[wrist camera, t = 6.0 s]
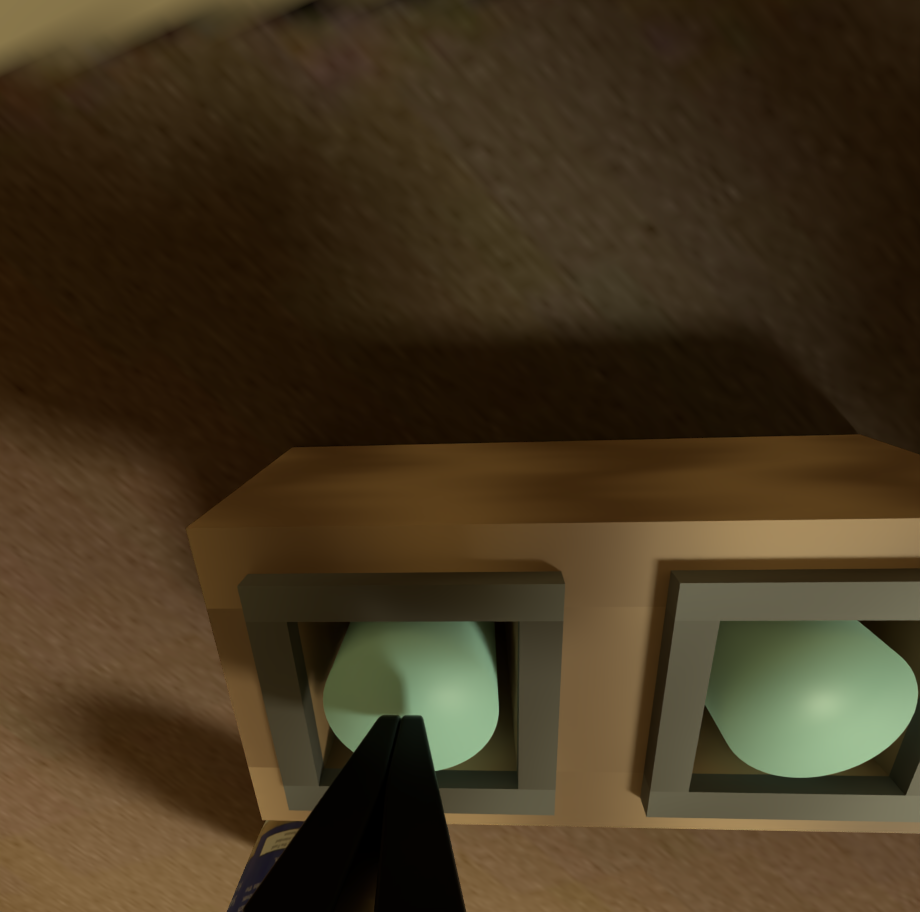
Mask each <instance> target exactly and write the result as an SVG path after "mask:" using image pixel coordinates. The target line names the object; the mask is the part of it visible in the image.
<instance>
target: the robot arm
mask: <svg viewBox="0 0 920 912" xmlns="http://www.w3.org/2000/svg"><path fill="white" fill-rule="evenodd" d="M242 912H466V909H465V904H464V900H463V895H462V891H461V886H460V882H459V877H458V873H457V868H456V863H455V859H454V854H453V850H452V845H451V841H450V836H449V832H448V827H447V823H446V818H445V814H444V809H443V805H442V800H441V796H440V791H439V787H438V782H437V778H436V773H435V768H434V764H433V759H432V755H431V750H430V746H429V741H428V737H427V732H426V728H425V723H424V719H423V717H422V716H421V715H404V716H403V717H402V718H401V716H399V715H382V716H380V717H379V718H378V719H377V720H376V722H375V723H374V725H373V726H372V727H371V729H370V730H369V732H368V733H367V734H366V736H365V737H364V739H363V740H362V741H361V743H360V744H359V746H358V747H357V748H356V750H355V751H354V753H353V754H352V755H351V757H350V758H349V760H348V761H347V762H346V764H345V765H344V767H343V768H342V769H341V771H340V772H339V774H338V775H337V777H336V778H335V779H334V781H333V782H332V784H331V785H330V786H329V788H328V789H327V791H326V792H325V793H324V795H323V796H322V798H321V799H320V800H319V802H318V803H317V805H316V806H315V807H314V809H313V810H312V812H311V813H310V814H309V816H308V817H307V819H306V820H305V821H304V823H303V824H302V826H301V827H300V828H299V830H298V831H297V833H296V834H295V836H294V837H293V838H292V840H291V841H290V843H289V844H288V845H287V847H286V848H285V850H284V851H283V852H282V854H281V855H280V857H279V858H278V859H277V861H276V862H275V864H274V865H273V866H272V868H271V869H270V871H269V872H268V873H267V875H266V876H265V878H264V879H263V880H262V882H261V883H260V885H259V886H258V888H257V889H256V890H255V892H254V893H253V895H252V896H251V897H250V899H249V900H248V902H247V903H246V904H245V906H244V907H243V910H242Z"/></svg>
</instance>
